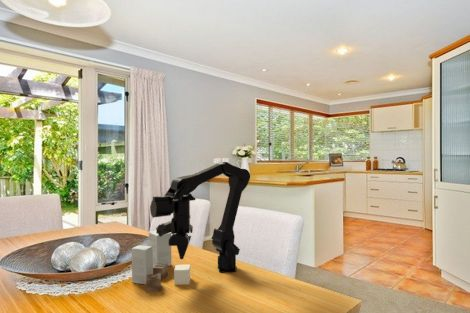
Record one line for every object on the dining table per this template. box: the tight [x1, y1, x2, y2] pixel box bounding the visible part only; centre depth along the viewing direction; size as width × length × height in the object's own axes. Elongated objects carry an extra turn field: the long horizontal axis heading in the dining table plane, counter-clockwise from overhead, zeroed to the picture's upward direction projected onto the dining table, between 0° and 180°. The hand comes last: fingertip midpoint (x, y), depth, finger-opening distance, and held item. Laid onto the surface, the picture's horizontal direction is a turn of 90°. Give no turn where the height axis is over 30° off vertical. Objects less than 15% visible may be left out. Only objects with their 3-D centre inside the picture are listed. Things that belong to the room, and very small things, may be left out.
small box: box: [148, 230, 172, 267], centre depth 121 cm, size 8×6×13 cm
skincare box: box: [131, 244, 153, 285], centre depth 105 cm, size 6×4×12 cm
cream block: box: [173, 264, 191, 286], centre depth 105 cm, size 5×5×5 cm
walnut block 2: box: [145, 274, 162, 293], centre depth 100 cm, size 4×4×4 cm
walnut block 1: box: [153, 263, 169, 280], centre depth 110 cm, size 4×4×4 cm
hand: (181, 258), depth 105 cm, fingers closed
